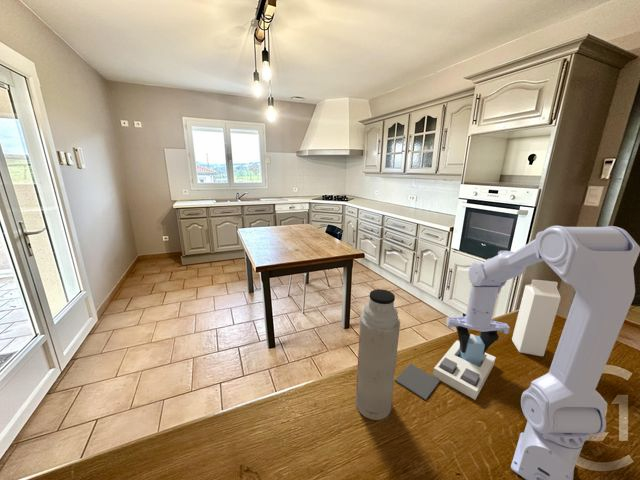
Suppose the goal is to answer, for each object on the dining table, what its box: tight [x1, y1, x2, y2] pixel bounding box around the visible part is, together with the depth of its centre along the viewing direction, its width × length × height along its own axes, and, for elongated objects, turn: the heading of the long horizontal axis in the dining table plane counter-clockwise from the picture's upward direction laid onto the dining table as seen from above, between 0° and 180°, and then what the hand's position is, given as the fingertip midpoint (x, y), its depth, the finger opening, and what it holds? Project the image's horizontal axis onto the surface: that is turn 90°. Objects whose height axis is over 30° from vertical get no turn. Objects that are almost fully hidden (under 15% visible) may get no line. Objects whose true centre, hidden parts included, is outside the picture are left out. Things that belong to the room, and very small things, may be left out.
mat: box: [394, 363, 441, 402], centre depth 67 cm, size 8×8×1 cm
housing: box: [432, 339, 497, 401], centre depth 70 cm, size 16×10×2 cm, turn 134°
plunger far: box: [440, 358, 457, 374], centre depth 68 cm, size 3×3×3 cm
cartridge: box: [458, 333, 485, 367], centre depth 72 cm, size 4×4×8 cm
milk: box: [511, 279, 562, 357], centre depth 76 cm, size 6×6×22 cm
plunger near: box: [461, 368, 480, 387], centre depth 64 cm, size 3×3×3 cm
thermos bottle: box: [355, 288, 401, 421], centre depth 56 cm, size 8×8×28 cm
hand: (471, 351), depth 72 cm, fingers closed on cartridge, 4 cm apart
